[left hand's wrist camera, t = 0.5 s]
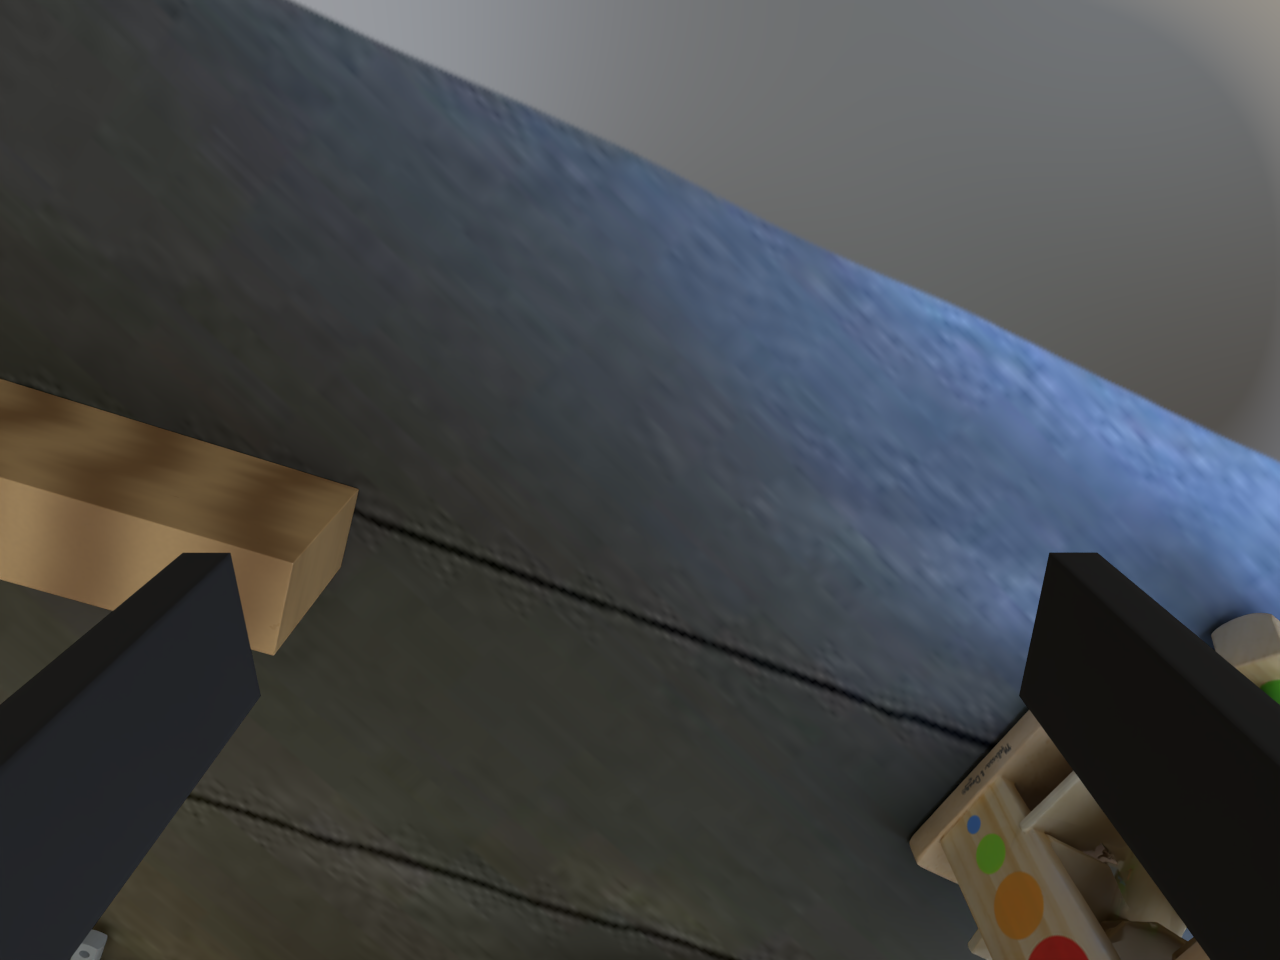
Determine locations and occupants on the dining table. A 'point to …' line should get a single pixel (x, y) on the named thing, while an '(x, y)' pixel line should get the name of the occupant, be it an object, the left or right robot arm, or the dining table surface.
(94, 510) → the beam
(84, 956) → the clamp
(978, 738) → the dining table surface
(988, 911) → the pounding bench toy
